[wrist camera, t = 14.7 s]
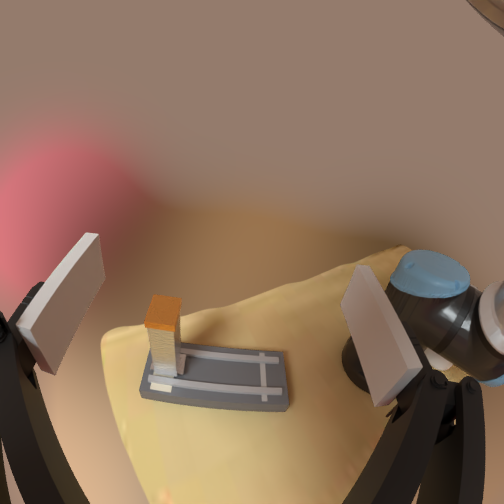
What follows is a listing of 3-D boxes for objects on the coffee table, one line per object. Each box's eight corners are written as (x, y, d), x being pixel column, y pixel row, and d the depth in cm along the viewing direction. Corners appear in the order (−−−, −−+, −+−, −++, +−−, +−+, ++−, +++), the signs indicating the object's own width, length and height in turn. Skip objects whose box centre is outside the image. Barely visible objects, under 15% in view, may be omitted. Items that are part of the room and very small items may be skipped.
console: (279, 360, 45) (283, 349, 44) (285, 411, 37) (290, 402, 35) (154, 347, 43) (152, 335, 42) (141, 397, 35) (138, 387, 33)
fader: (186, 352, 40) (186, 298, 34) (182, 378, 36) (180, 326, 30) (155, 348, 40) (149, 293, 34) (149, 373, 36) (139, 320, 30)
